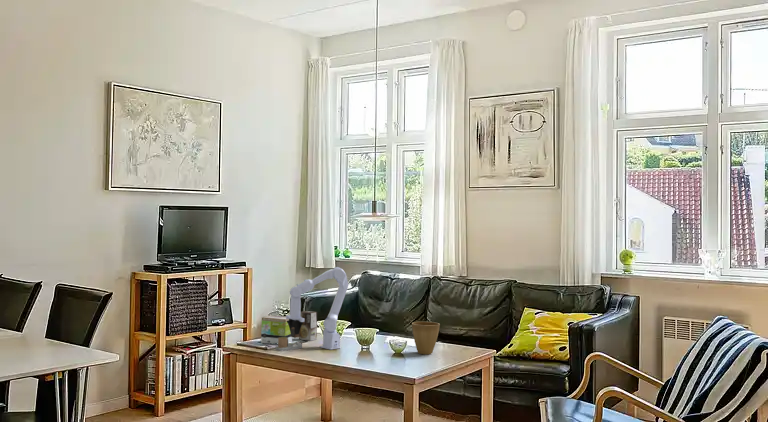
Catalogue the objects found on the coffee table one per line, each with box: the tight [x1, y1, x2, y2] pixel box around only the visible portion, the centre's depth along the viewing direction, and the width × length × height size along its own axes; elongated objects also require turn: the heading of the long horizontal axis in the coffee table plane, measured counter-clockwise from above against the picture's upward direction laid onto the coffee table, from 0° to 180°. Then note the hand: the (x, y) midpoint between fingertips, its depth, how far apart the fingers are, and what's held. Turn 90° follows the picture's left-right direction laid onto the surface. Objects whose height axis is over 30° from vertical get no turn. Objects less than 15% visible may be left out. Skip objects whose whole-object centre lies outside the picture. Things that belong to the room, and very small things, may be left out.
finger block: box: [291, 327, 299, 339], centre depth 380 cm, size 4×4×5 cm
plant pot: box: [411, 321, 441, 355], centre depth 373 cm, size 15×15×16 cm
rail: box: [274, 337, 303, 352], centre depth 377 cm, size 5×14×6 cm, turn 133°
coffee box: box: [298, 310, 318, 342], centre depth 408 cm, size 9×6×16 cm
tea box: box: [260, 314, 293, 344], centre depth 394 cm, size 15×10×15 cm, turn 73°
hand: (294, 333), depth 380 cm, fingers closed on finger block, 3 cm apart
